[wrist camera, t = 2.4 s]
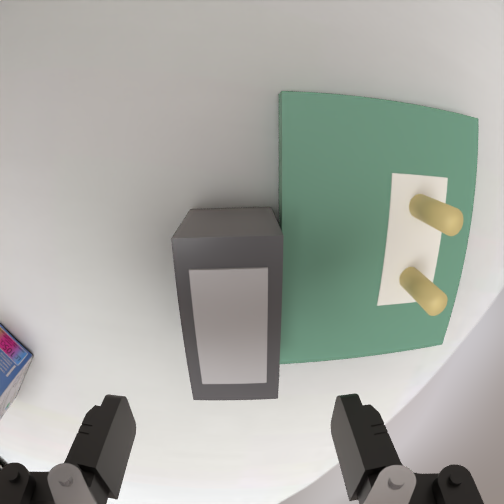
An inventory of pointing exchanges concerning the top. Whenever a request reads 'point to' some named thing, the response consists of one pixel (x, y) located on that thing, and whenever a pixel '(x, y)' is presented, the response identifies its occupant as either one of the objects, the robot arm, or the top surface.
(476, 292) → the top surface
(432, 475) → the robot arm
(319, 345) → the board
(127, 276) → the top surface
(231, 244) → the block
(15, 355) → the ink cartridge box
